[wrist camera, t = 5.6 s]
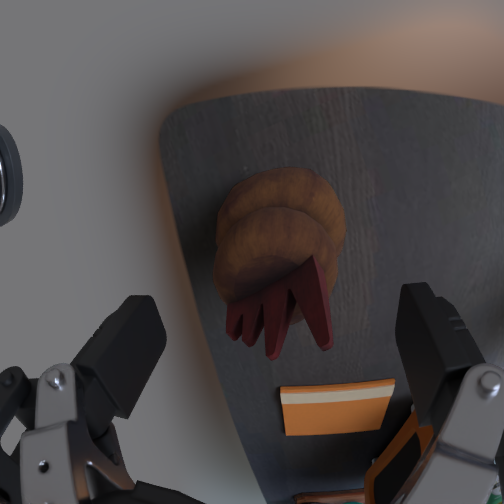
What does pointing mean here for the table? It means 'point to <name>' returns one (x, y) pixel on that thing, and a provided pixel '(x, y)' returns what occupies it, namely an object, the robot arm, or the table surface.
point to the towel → (335, 407)
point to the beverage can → (495, 494)
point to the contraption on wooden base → (332, 497)
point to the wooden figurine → (279, 256)
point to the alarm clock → (396, 461)
